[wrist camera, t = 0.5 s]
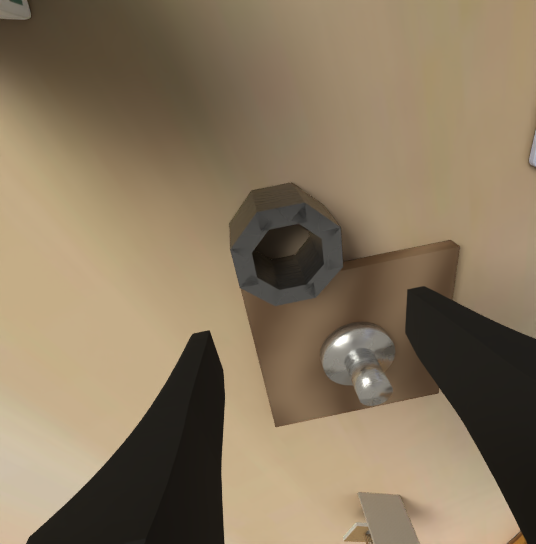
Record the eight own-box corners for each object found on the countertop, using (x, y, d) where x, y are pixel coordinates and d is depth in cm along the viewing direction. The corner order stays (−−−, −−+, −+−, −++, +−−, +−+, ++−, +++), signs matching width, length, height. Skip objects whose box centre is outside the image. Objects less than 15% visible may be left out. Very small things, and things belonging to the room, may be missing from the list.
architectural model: (384, 506, 40) (415, 586, 34) (334, 502, 39) (355, 587, 32) (399, 490, 39) (433, 571, 33) (346, 486, 37) (372, 571, 31)
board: (450, 240, 22) (459, 246, 21) (432, 383, 29) (438, 393, 28) (240, 282, 22) (241, 291, 21) (274, 416, 29) (275, 427, 28)
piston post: (390, 315, 23) (418, 356, 20) (388, 367, 26) (413, 411, 22) (316, 330, 23) (332, 374, 20) (322, 380, 26) (337, 427, 22)
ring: (320, 176, 19) (338, 195, 16) (327, 262, 22) (344, 292, 19) (222, 196, 19) (222, 219, 16) (243, 279, 22) (246, 312, 19)
